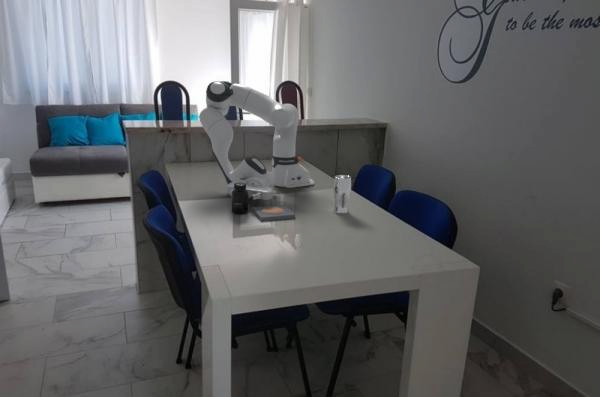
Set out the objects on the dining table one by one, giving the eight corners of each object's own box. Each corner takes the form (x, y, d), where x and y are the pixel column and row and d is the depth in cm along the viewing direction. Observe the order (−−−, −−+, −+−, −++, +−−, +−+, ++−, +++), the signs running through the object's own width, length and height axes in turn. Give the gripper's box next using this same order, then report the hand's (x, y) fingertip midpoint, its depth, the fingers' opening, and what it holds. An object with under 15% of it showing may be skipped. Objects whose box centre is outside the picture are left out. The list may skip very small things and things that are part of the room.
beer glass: (351, 211, 197) (353, 176, 192) (346, 215, 190) (348, 179, 186) (336, 208, 199) (337, 174, 195) (330, 213, 193) (331, 177, 189)
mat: (284, 208, 197) (284, 204, 197) (295, 218, 186) (295, 214, 185) (252, 211, 192) (252, 207, 192) (260, 221, 181) (260, 217, 180)
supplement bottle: (234, 215, 186) (234, 186, 183) (229, 210, 192) (228, 182, 189) (251, 213, 189) (251, 184, 186) (244, 208, 195) (244, 180, 192)
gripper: (277, 198, 202) (265, 207, 190) (234, 191, 208) (219, 199, 196) (278, 184, 201) (265, 192, 188) (234, 177, 206) (219, 185, 194)
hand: (242, 196), depth 192 cm, fingers open, 8 cm apart
